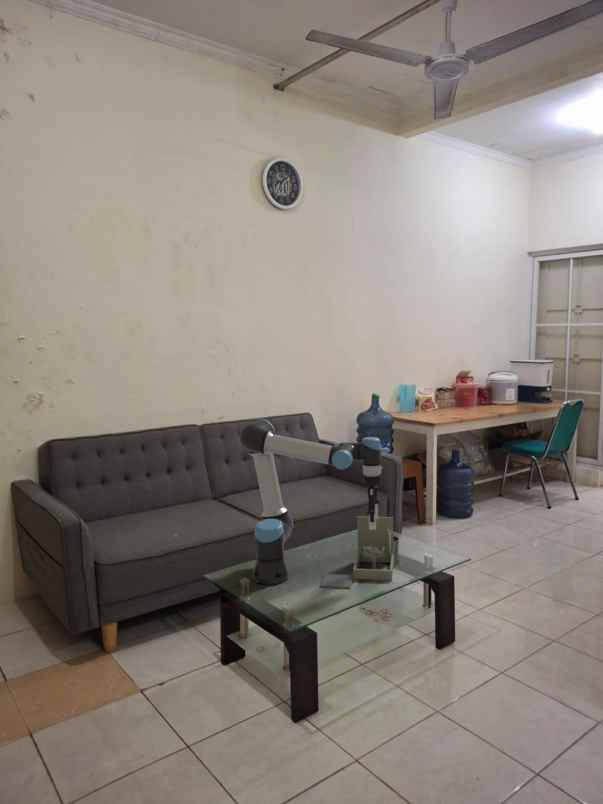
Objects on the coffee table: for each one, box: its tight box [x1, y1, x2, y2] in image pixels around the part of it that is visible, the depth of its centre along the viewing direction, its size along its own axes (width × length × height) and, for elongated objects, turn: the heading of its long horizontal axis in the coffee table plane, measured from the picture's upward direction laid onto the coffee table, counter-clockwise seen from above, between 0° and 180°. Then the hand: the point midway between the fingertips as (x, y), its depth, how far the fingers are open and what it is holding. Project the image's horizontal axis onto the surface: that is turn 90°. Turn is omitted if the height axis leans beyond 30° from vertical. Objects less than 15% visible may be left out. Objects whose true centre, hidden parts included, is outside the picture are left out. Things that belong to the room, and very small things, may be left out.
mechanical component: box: [362, 546, 386, 570], centre depth 248 cm, size 3×10×10 cm, turn 79°
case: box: [352, 515, 395, 581], centre depth 248 cm, size 16×20×20 cm
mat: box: [319, 573, 354, 589], centre depth 239 cm, size 12×12×1 cm
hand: (373, 524), depth 247 cm, fingers open, 13 cm apart
